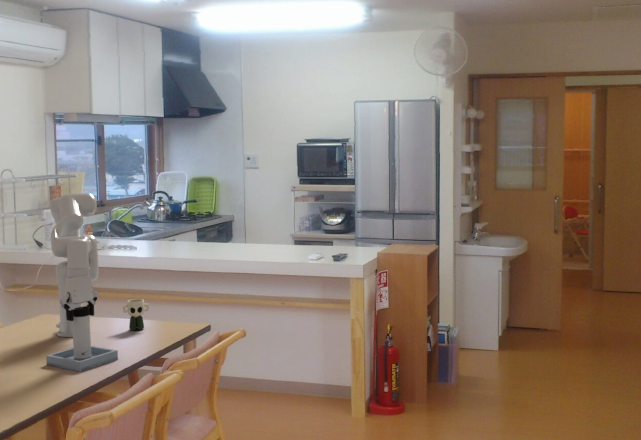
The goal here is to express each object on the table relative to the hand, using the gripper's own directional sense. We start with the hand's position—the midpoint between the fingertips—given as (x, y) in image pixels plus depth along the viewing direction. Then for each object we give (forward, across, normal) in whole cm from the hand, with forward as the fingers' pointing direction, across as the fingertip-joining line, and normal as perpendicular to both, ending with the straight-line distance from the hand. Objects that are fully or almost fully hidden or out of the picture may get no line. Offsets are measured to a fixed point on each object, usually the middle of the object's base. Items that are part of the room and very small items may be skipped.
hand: (80, 317), depth 286 cm
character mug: (+17, -47, -19) cm, 53 cm away
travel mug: (+16, 0, 0) cm, 16 cm away
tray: (+17, 0, 0) cm, 17 cm away
